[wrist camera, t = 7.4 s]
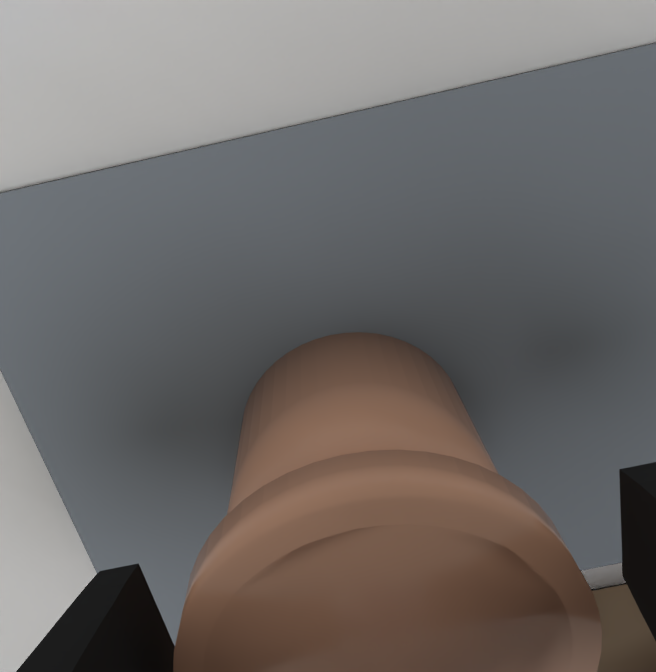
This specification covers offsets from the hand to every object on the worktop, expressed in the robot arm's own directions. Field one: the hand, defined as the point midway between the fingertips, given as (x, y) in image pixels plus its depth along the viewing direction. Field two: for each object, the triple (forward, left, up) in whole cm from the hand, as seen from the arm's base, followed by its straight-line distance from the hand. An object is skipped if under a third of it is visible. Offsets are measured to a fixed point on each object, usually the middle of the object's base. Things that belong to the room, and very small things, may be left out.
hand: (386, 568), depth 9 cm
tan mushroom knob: (0, +1, -5) cm, 5 cm away
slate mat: (0, 0, -5) cm, 5 cm away
